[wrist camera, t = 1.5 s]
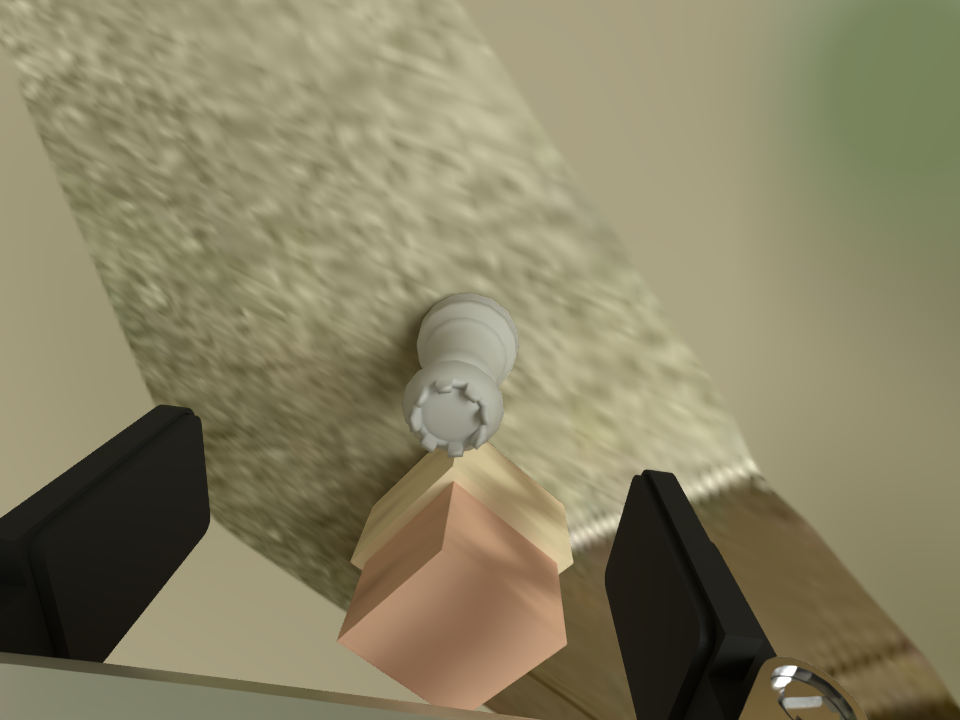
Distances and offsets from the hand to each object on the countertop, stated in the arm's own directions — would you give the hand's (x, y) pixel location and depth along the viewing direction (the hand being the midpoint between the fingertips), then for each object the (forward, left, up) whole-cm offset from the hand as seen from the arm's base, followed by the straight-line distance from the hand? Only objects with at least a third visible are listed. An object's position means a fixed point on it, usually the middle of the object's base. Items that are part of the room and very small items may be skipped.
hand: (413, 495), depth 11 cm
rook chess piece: (-1, 0, -13) cm, 13 cm away
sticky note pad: (-10, -1, -12) cm, 16 cm away
